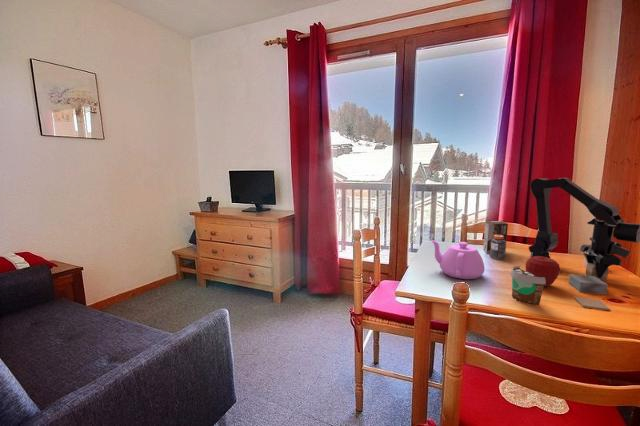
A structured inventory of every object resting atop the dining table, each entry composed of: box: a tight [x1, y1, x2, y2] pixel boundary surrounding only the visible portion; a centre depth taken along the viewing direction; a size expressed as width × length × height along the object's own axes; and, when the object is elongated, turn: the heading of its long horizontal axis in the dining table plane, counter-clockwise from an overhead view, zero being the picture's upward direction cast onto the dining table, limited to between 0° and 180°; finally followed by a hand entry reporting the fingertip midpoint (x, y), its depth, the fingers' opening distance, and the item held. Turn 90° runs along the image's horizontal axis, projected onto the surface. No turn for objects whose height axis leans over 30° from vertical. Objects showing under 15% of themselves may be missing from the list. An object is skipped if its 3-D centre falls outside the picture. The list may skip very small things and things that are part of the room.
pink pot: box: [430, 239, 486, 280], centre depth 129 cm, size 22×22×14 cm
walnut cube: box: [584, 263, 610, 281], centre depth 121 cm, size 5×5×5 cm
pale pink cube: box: [583, 257, 587, 268], centre depth 134 cm, size 5×5×5 cm
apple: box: [525, 256, 561, 288], centre depth 116 cm, size 11×11×12 cm
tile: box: [573, 296, 611, 311], centre depth 101 cm, size 7×7×1 cm
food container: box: [509, 265, 546, 306], centre depth 104 cm, size 12×6×10 cm, turn 5°
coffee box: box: [482, 220, 509, 255], centre depth 158 cm, size 9×6×16 cm
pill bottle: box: [489, 235, 505, 260], centre depth 149 cm, size 6×6×11 cm
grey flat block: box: [568, 273, 608, 295], centre depth 113 cm, size 8×8×4 cm
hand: (596, 274), depth 121 cm, fingers closed on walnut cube, 5 cm apart
